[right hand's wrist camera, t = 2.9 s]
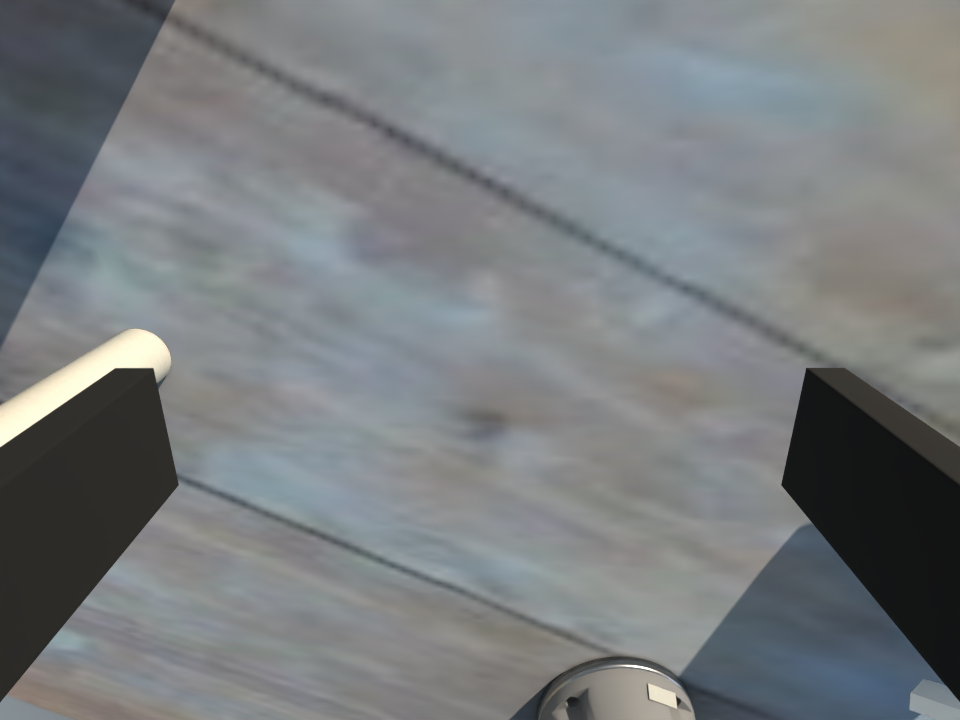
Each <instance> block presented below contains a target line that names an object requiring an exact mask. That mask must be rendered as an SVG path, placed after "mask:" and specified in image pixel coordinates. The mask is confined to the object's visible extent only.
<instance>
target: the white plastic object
mask: <svg viewBox="0 0 960 720" xmlns="http://www.w3.org/2000/svg"><path fill="white" fill-rule="evenodd" d="M909 710H911V711H914V712H917V713H919V714H922V715H925V716H928V717H930V718H933V719H936V720H960V702H959V701H958V699H957V698H956V697H955V696H954V695H953V693H952V692H951V691H950V690H949V688H948V687H947V686H945V685H942V684H939V683H936V682H933V681H930V680H927V679H923V680H922V681H921V682H920V683H919V684H918V685H917V686H916V687H915V688H914V690H913V691H912V692H911V693H910V708H909Z"/></svg>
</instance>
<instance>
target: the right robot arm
mask: <svg viewBox="0 0 960 720" xmlns="http://www.w3.org/2000/svg"><path fill="white" fill-rule="evenodd" d="M178 485H179V484H178V480H177V475H176V470H175V466H174V461H173V456H172V452H171V447H170V442H169V438H168V433H167V428H166V424H165V419H164V414H163V410H162V405H161V400H160V396H159V391H158V386H157V382H156V377H155V372H154V368H115V369H113V370H112V371H110V372H109V373H107V374H106V375H105V376H103V377H102V378H100V379H99V380H97V381H96V382H94V383H93V384H91V385H90V386H88V387H87V388H86V389H84V390H83V391H81V392H80V393H78V394H77V395H75V396H74V397H72V398H71V399H69V400H68V401H67V402H65V403H64V404H62V405H61V406H59V407H58V408H56V409H55V410H53V411H52V412H51V413H49V414H48V415H46V416H45V417H43V418H42V419H40V420H39V421H37V422H36V423H34V424H33V425H32V426H30V427H29V428H27V429H26V430H24V431H23V432H21V433H20V434H18V435H17V436H15V437H14V438H13V439H11V440H10V441H8V442H7V443H5V444H4V445H2V446H1V447H0V702H1V701H2V699H3V698H4V697H5V696H6V695H7V693H8V692H9V691H10V690H11V688H12V687H13V686H14V685H15V684H16V682H17V681H18V680H19V679H20V678H21V676H22V675H23V674H24V673H25V671H26V670H27V669H28V668H29V667H30V665H31V664H32V663H33V662H34V660H35V659H36V658H37V657H38V656H39V654H40V653H41V652H42V651H43V650H44V648H45V647H46V646H47V645H48V643H49V642H50V641H51V640H52V639H53V637H54V636H55V635H56V634H57V632H58V631H59V630H60V629H61V628H62V626H63V625H64V624H65V623H66V622H67V620H68V619H69V618H70V617H71V615H72V614H73V613H74V612H75V611H76V609H77V608H78V607H79V606H80V604H81V603H82V602H83V601H84V600H85V598H86V597H87V596H88V595H89V594H90V592H91V591H92V590H93V589H94V587H95V586H96V585H97V584H98V583H99V581H100V580H101V579H102V578H103V576H104V575H105V574H106V573H107V572H108V570H109V569H110V568H111V567H112V566H113V564H114V563H115V562H116V561H117V559H118V558H119V557H120V556H121V555H122V553H123V552H124V551H125V550H126V549H127V547H128V546H129V545H130V544H131V542H132V541H133V540H134V539H135V538H136V536H137V535H138V534H139V533H140V531H141V530H142V529H143V528H144V527H145V525H146V524H147V523H148V522H149V521H150V519H151V518H152V517H153V516H154V514H155V513H156V512H157V511H158V510H159V508H160V507H161V506H162V505H163V503H164V502H165V501H166V500H167V499H168V497H169V496H170V495H171V494H172V493H173V491H174V490H175V489H176V488H177V486H178ZM781 485H782V486H783V488H784V489H785V490H786V491H787V493H788V494H789V495H790V496H791V497H792V499H793V500H794V501H795V502H796V503H797V505H798V506H799V507H800V508H801V510H802V511H803V512H804V513H805V514H806V516H807V517H808V518H809V519H810V521H811V522H812V523H813V524H814V525H815V527H816V528H817V529H818V530H819V531H820V533H821V534H822V535H823V536H824V538H825V539H826V540H827V541H828V542H829V544H830V545H831V546H832V547H833V549H834V550H835V551H836V552H837V553H838V555H839V556H840V557H841V558H842V559H843V561H844V562H845V563H846V564H847V566H848V567H849V568H850V569H851V570H852V572H853V573H854V574H855V575H856V577H857V578H858V579H859V580H860V581H861V583H862V584H863V585H864V586H865V587H866V589H867V590H868V591H869V592H870V594H871V595H872V596H873V597H874V598H875V600H876V601H877V602H878V603H879V604H880V606H881V607H882V608H883V609H884V611H885V612H886V613H887V614H888V615H889V617H890V618H891V619H892V620H893V622H894V623H895V624H896V625H897V626H898V628H899V629H900V630H901V631H902V632H903V634H904V635H905V636H906V637H907V639H908V640H909V641H910V642H911V643H912V645H913V646H914V647H915V648H916V650H917V651H918V652H919V653H920V654H921V656H922V657H923V658H924V659H925V660H926V662H927V663H928V664H929V665H930V667H931V668H932V669H933V670H934V671H935V673H936V674H937V675H938V676H939V678H940V679H941V680H942V681H943V682H944V684H945V685H946V686H947V687H948V688H949V690H950V691H951V692H952V693H953V695H954V696H955V697H956V698H957V699H958V701H959V702H960V447H959V446H958V445H956V444H955V443H953V442H952V441H950V440H949V439H947V438H946V437H945V436H943V435H942V434H940V433H939V432H937V431H936V430H934V429H933V428H931V427H930V426H928V425H927V424H926V423H924V422H923V421H921V420H920V419H918V418H917V417H915V416H914V415H912V414H911V413H909V412H908V411H907V410H905V409H904V408H902V407H901V406H899V405H898V404H896V403H895V402H893V401H892V400H891V399H889V398H888V397H886V396H885V395H883V394H882V393H880V392H879V391H877V390H876V389H874V388H873V387H872V386H870V385H869V384H867V383H866V382H864V381H863V380H861V379H860V378H858V377H857V376H855V375H854V374H853V373H851V372H850V371H848V370H847V369H845V368H806V372H805V377H804V382H803V386H802V391H801V396H800V400H799V405H798V410H797V414H796V419H795V424H794V428H793V433H792V438H791V442H790V447H789V452H788V456H787V461H786V466H785V470H784V475H783V480H782V484H781ZM537 720H696V718H695V713H694V708H693V705H692V702H691V700H690V697H689V694H688V692H687V690H686V687H685V686H684V684H683V683H682V682H681V681H680V679H679V678H678V677H677V676H676V675H675V674H673V673H672V672H671V671H669V670H668V669H666V668H664V667H663V666H661V665H658V664H656V663H654V662H651V661H647V660H644V659H639V658H632V657H608V658H601V659H596V660H592V661H588V662H585V663H583V664H580V665H578V666H575V667H573V668H571V669H570V670H568V671H566V672H565V673H563V674H562V675H560V676H559V677H558V678H557V679H555V680H554V681H553V682H552V683H551V684H550V686H549V687H548V688H547V689H546V691H545V692H544V694H543V696H542V697H541V700H540V702H539V706H538V710H537Z"/></svg>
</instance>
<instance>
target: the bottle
mask: <svg viewBox="0 0 960 720" xmlns="http://www.w3.org/2000/svg"><path fill="white" fill-rule="evenodd" d="M170 367H171V356H170V353H169V351H168V348H167V347H166V345H165V344H164V343H163V342H162V340H161V339H159V338H158V337H157V336H155V335H154V334H152V333H150V332H148V331H145V330H140V329H129V330H126V331H123V332H121V333H119V334H118V335H116V336H114V337H113V338H111V339H109V340H108V341H106V342H104V343H103V344H101V345H99V346H98V347H96V348H94V349H93V350H91V351H89V352H88V353H86V354H84V355H83V356H81V357H79V358H78V359H76V360H74V361H72V362H71V363H69V364H67V365H66V366H64V367H62V368H61V369H59V370H57V371H56V372H54V373H52V374H51V375H49V376H47V377H46V378H44V379H42V380H41V381H39V382H37V383H36V384H34V385H32V386H31V387H29V388H27V389H26V390H24V391H22V392H21V393H19V394H17V395H16V396H14V397H12V398H11V399H9V400H7V401H5V402H4V403H2V404H0V447H1V446H2V445H4V444H5V443H7V442H8V441H10V440H11V439H13V438H14V437H15V436H17V435H18V434H20V433H21V432H23V431H24V430H26V429H27V428H29V427H30V426H32V425H33V424H34V423H36V422H37V421H39V420H40V419H42V418H43V417H45V416H46V415H48V414H49V413H51V412H52V411H53V410H55V409H56V408H58V407H59V406H61V405H62V404H64V403H65V402H67V401H68V400H69V399H71V398H72V397H74V396H75V395H77V394H78V393H80V392H81V391H83V390H84V389H86V388H87V387H88V386H90V385H91V384H93V383H94V382H96V381H97V380H99V379H100V378H102V377H103V376H105V375H106V374H107V373H109V372H110V371H112V370H113V369H115V368H154V372H155V377H156V382H157V384H158V383H159V382H160V381H161V380H162V379H164V378H165V377H166V375H167V374H168V372H169V370H170Z"/></svg>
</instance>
